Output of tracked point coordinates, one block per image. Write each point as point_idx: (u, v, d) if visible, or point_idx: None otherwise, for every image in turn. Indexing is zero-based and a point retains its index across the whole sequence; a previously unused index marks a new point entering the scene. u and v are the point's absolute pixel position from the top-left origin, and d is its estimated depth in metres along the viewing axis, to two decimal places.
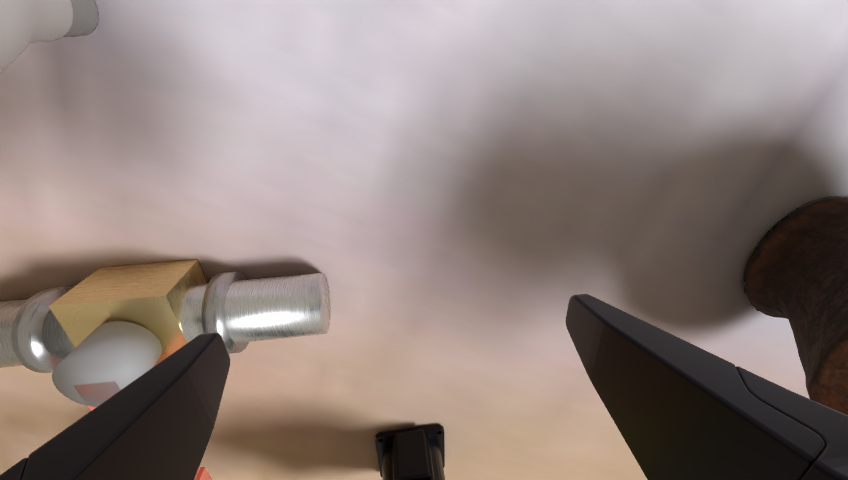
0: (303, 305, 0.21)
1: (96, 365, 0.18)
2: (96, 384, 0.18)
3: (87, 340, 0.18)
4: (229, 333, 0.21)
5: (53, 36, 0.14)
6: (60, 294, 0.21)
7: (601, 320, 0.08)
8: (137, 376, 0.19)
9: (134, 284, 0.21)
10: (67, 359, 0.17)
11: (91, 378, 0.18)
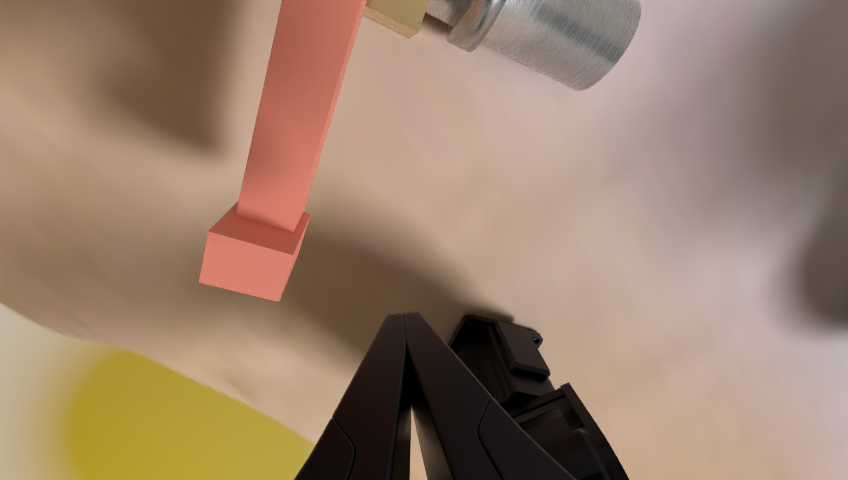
0: (623, 4, 0.14)
1: None
2: None
3: None
4: None
5: None
6: None
7: (406, 342, 0.08)
8: None
9: None
10: None
11: None
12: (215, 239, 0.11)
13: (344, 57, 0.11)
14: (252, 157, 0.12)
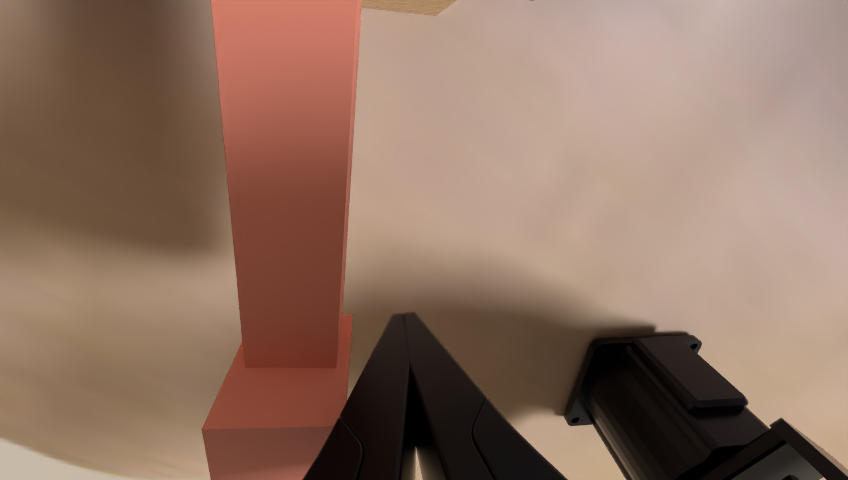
0: None
1: None
2: None
3: None
4: None
5: None
6: None
7: (402, 342, 0.08)
8: None
9: None
10: None
11: None
12: (217, 436, 0.07)
13: (351, 82, 0.06)
14: (244, 283, 0.07)
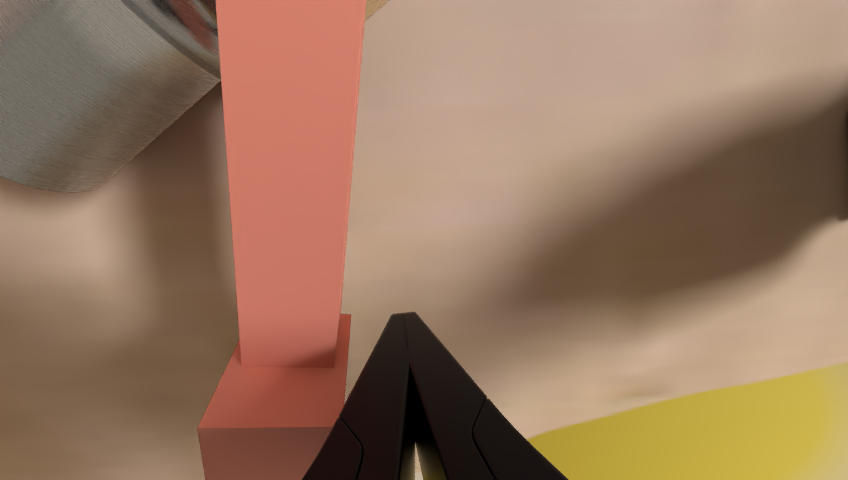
0: None
1: None
2: None
3: None
4: None
5: None
6: None
7: (402, 342, 0.08)
8: None
9: None
10: None
11: None
12: (212, 435, 0.07)
13: (355, 79, 0.06)
14: (242, 281, 0.07)
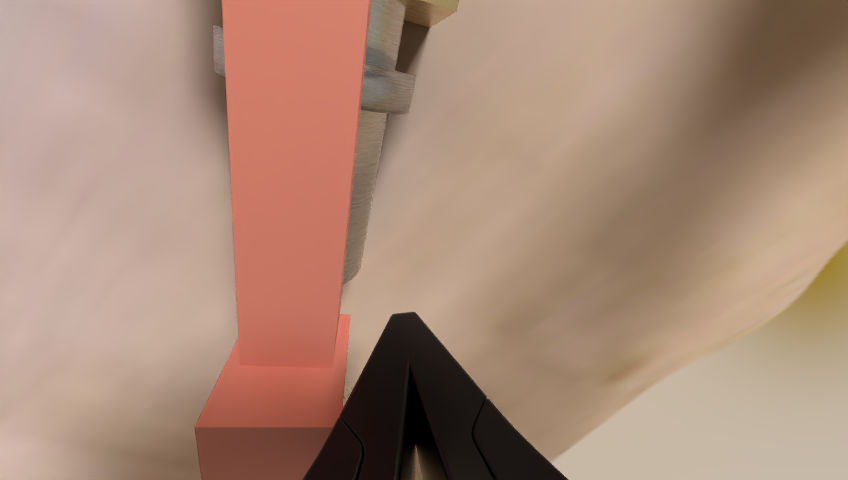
0: None
1: None
2: None
3: None
4: None
5: None
6: None
7: (402, 342, 0.08)
8: None
9: None
10: None
11: None
12: (210, 434, 0.07)
13: (360, 79, 0.06)
14: (242, 280, 0.07)
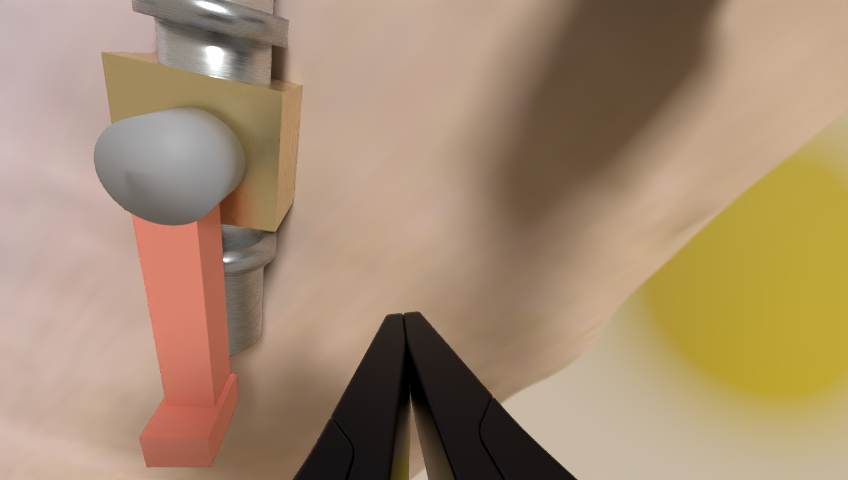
0: None
1: (174, 141, 0.11)
2: (161, 178, 0.11)
3: (158, 111, 0.12)
4: None
5: None
6: None
7: (407, 342, 0.08)
8: (223, 186, 0.12)
9: None
10: (132, 118, 0.11)
11: (157, 165, 0.11)
12: (146, 440, 0.15)
13: (204, 296, 0.14)
14: (163, 370, 0.15)
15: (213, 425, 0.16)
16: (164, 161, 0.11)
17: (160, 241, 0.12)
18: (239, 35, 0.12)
